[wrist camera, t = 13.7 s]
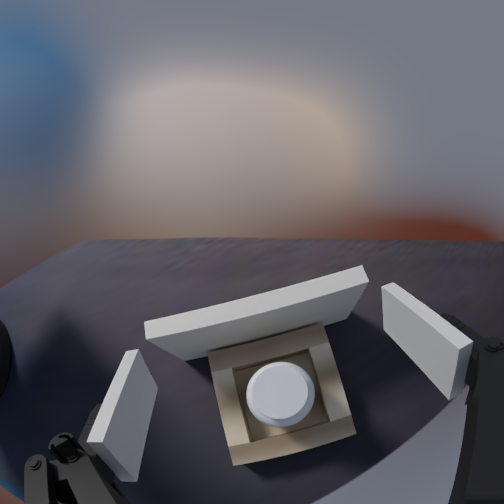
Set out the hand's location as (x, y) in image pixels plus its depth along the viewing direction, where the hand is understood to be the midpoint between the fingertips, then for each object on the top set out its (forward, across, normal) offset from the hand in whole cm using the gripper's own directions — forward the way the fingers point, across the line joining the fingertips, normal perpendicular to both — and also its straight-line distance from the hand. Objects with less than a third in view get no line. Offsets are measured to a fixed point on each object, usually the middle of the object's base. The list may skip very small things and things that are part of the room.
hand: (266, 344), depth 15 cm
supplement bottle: (+10, 0, -13) cm, 16 cm away
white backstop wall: (+15, 0, -9) cm, 17 cm away
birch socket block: (+10, 0, -13) cm, 17 cm away
